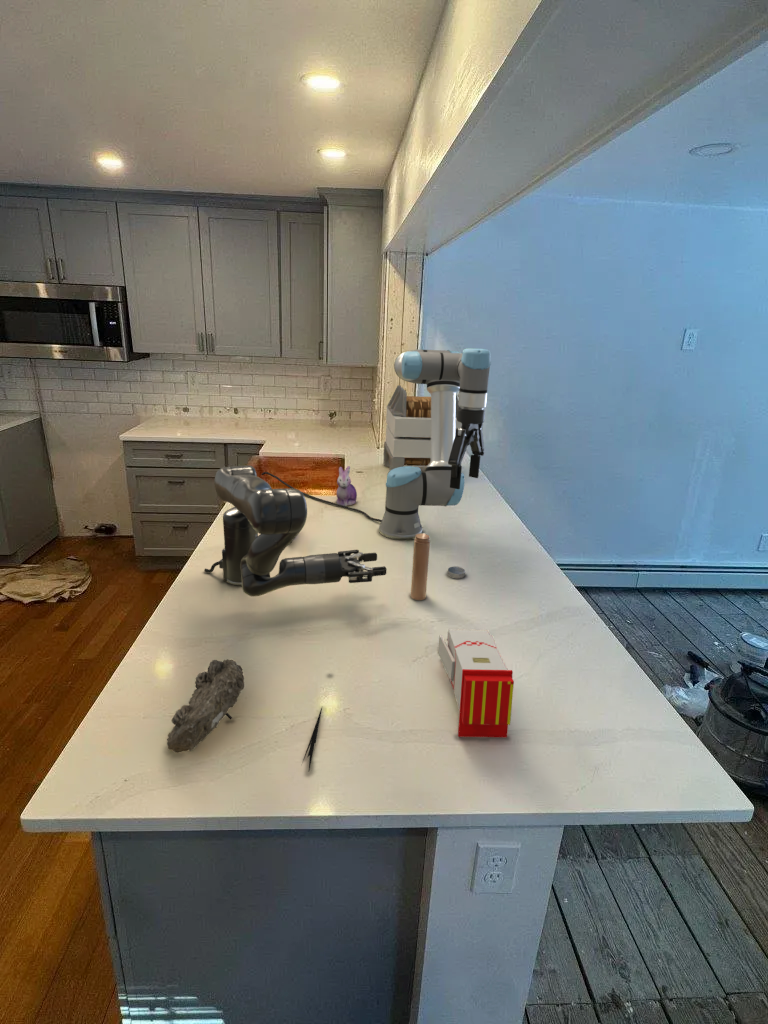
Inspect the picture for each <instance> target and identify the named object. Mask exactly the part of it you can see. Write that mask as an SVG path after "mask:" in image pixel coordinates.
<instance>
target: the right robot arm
mask: <svg viewBox="0 0 768 1024" xmlns="http://www.w3.org/2000/svg"><path fill="white" fill-rule="evenodd" d="M491 353H492V352H491V351H490V350H489V349H486V348H474V347H469V348H464V349H463V350H462V352H459V351H457V350H450V349H447V350H446V349H444V350H442V349H421V348H420V349H410V350H406V351H403V352H401V353H400V354H398V355H397V357H396V358H395V360H394V364H393V369H394V373H395V374H396V376H397V377H398V378H399V379H400V380H403V381H405V382H407V383H412V384H418V385H426V391H427V392H428V393H429V394H430V397H431V449H430V463H429V464H428V465H427V466H425V471H422V469H421V468H420V466H407V465H404V466H403V467H398V468H395V469H392V470H391V471H390V470H388V473H387V475H386V482H385V487H386V488H385V489H386V490H385V504H384V505H385V507H384V508H385V509H384V513H383V515H382V519H381V518H374V517H372V516H370V515H368V514H367V512H365V511H363V510H361V509H358V508H354V507H350V506H348V505H347V506H343V505H340V504H337V502H332V501H328V500H327V499H322V498H320V497H317V496H313V495H311V494H309V493H305V492H303V491H301V492H302V493H303V495H304V497H307V498H311V499H313V500H316V501H319V502H322V503H324V504H329V505H332V506H336V507H338V508H341V509H342V508H343V509H346V510H349V511H354V512H357V513H359V514H362V515H364V517H366V518H367V519H369V520H371V521H373V522H374V521H375V522H379V525H378V533H379V534H380V535H381V536H382V537H385V538H387V539H389V540H395V541H410V540H414V539H415V535H416V534H423V525H422V524H421V518H420V515H419V507H420V506H427V507H428V506H429V507H431V506H432V507H433V506H434V507H451V506H457V505H459V504H460V503H461V501H462V498H463V494H464V490H465V474H464V473H463V472H462V470H463V466H462V462H463V459H464V456H465V454H466V451H467V450H468V449H467V448H468V447H469V446H470V450H471V455H470V460H469V470H468V477H469V478H475V479H479V477H480V476H479V475H480V466H481V457H484V455H485V443H484V432H483V427H484V422H485V417H486V410H485V409H486V407H487V401H488V400H487V399H488V389H489V388H488V387H489V380H490V379H489V378H490V371H491V365H492V361H491V356H492V355H491ZM456 395H457V398H458V405H459V406H460V407H459V408H458V410H457V421H458V422H461V423H462V426H461V429H460V428H456V433H455V410H456ZM455 460H456V461H455ZM460 465H461V466H460ZM260 475H261V476H264V475H268V476H270V477H271V478H274V479H277V481H279V482H280V483H282V484H283V485H284V486H286V487H287V488H292V489H296V488H295V487H293V486H291V485H290V484H288V483H287V482H285V481H283V480H282V479H281V478H280V477H278V476H277V475H274V474H273V473H270V472H268V471H263V472H262V473H261V474H260Z"/></svg>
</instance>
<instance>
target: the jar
mask: <svg viewBox="0 0 768 1024" xmlns="http://www.w3.org/2000/svg"><path fill="white" fill-rule="evenodd" d="M430 547H431V540H430V535H429V534H427V533H422V534H416V535H415V539H413V552H412V566H411V568H412V569H411V579H410V580H411V583H410V595H409V596H410V599H412V600H415V601H423V600H425V599H426V598H427V591H428V590H427V589H428V576H429V563H430V551H431V550H430V549H431V548H430Z"/></svg>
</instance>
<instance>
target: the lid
mask: <svg viewBox="0 0 768 1024" xmlns="http://www.w3.org/2000/svg"><path fill="white" fill-rule="evenodd" d="M446 573H447V576H448V577H449V578H451V579H456V580H459V579H460V580H461V579H463V578H465V576H466V570H465V569H464V568H463V567H460V566H450V567H448V568H447V572H446Z"/></svg>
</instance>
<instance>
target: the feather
mask: <svg viewBox="0 0 768 1024" xmlns="http://www.w3.org/2000/svg"><path fill="white" fill-rule="evenodd" d="M329 675H330V676H331V675H332V674H331V673H330V674H329ZM322 710H323V707H321V708H320V710H319V713H318V716H317V719H316V723H315V725H314V728H313V731H312V733H311V737H310V739H309V742H308V745H307V748H306V751H305V754H304V757H303V760H302V763H301V767H302V765H303V763H304V761H305V758H308V759H309V760H308V762H307V763H308V764H307V766H308V771H310V770H311V766H312V765H311V764H312V760H313V757H315V756H314V755H315V751H316V749H315V746H317V739H318V733H319V729H320V722H321V717H322V712H323V711H322ZM313 754H314V755H313ZM306 755H307V757H306Z"/></svg>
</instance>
